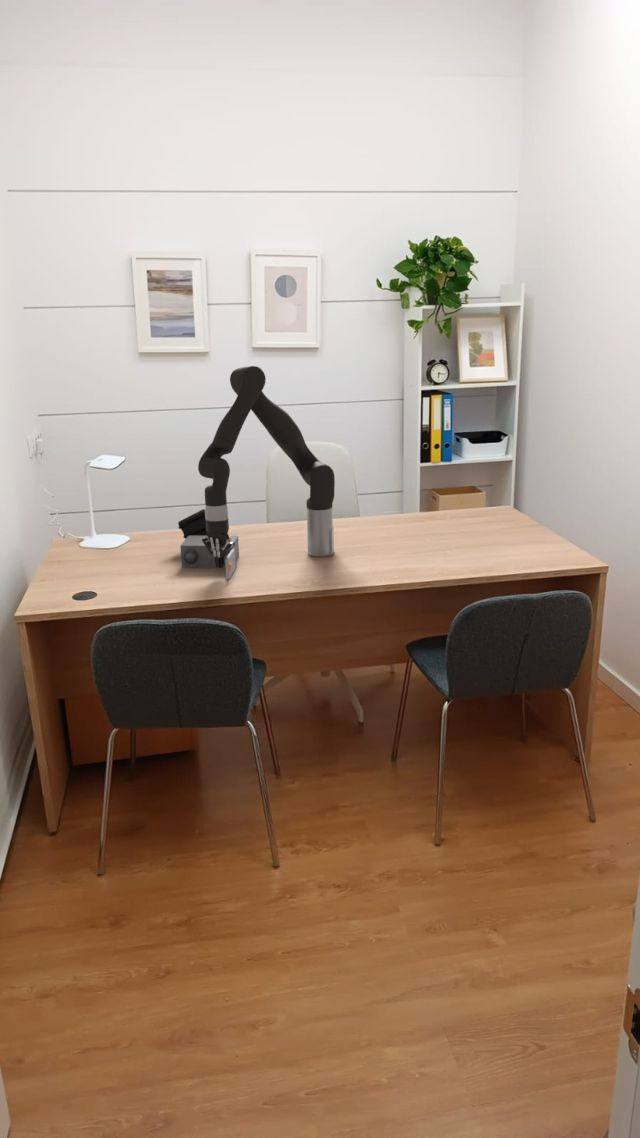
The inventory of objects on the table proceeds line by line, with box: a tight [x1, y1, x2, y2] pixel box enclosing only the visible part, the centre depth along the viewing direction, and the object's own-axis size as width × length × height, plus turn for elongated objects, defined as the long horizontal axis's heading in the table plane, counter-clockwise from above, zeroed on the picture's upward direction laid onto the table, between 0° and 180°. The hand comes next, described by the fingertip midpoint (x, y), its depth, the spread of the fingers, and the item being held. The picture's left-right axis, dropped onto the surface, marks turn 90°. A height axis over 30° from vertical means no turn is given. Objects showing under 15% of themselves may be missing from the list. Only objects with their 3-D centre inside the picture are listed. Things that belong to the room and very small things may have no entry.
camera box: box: [180, 535, 240, 569], centre depth 301 cm, size 18×14×9 cm
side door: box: [225, 548, 237, 580], centre depth 289 cm, size 12×2×7 cm, turn 174°
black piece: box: [177, 508, 208, 540], centre depth 316 cm, size 4×13×15 cm, turn 93°
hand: (219, 566), depth 287 cm, fingers closed
